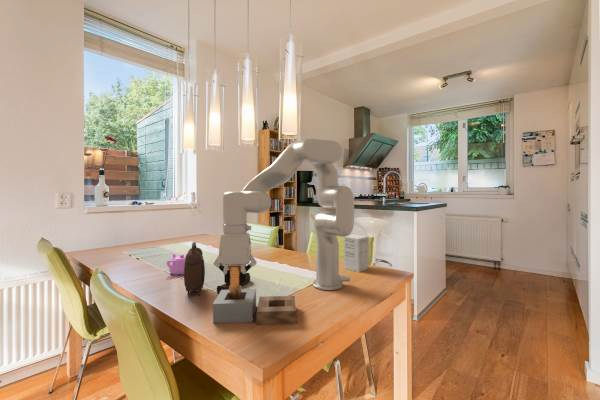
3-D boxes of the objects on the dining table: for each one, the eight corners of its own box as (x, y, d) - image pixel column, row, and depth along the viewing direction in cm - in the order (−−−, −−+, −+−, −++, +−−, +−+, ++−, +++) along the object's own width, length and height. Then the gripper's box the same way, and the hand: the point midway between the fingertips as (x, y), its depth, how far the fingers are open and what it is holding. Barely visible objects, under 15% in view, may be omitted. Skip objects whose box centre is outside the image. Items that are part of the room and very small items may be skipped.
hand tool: (223, 297, 108) (223, 285, 107) (216, 295, 110) (216, 283, 109) (254, 282, 124) (254, 272, 124) (247, 281, 126) (247, 271, 126)
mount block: (294, 307, 98) (294, 295, 98) (296, 323, 86) (296, 310, 86) (259, 308, 97) (259, 296, 97) (256, 324, 85) (256, 311, 85)
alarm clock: (204, 297, 106) (203, 245, 106) (183, 299, 104) (182, 246, 103) (205, 285, 120) (205, 238, 119) (187, 286, 118) (186, 239, 117)
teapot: (172, 269, 145) (172, 252, 144) (200, 268, 146) (199, 251, 146) (163, 276, 133) (163, 257, 133) (193, 275, 134) (193, 257, 134)
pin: (242, 299, 94) (242, 264, 94) (240, 304, 90) (240, 267, 90) (230, 299, 94) (230, 264, 94) (228, 304, 90) (227, 267, 90)
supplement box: (354, 265, 151) (354, 234, 151) (369, 268, 145) (369, 236, 144) (343, 268, 145) (343, 236, 144) (358, 272, 138) (358, 238, 137)
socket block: (256, 305, 99) (255, 289, 99) (252, 321, 87) (252, 302, 87) (221, 306, 98) (221, 289, 98) (213, 323, 86) (212, 303, 86)
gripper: (261, 227, 96) (261, 280, 96) (211, 228, 95) (212, 281, 95) (259, 231, 88) (259, 288, 89) (205, 231, 87) (206, 289, 88)
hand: (235, 284), depth 92 cm, fingers closed on pin, 4 cm apart
